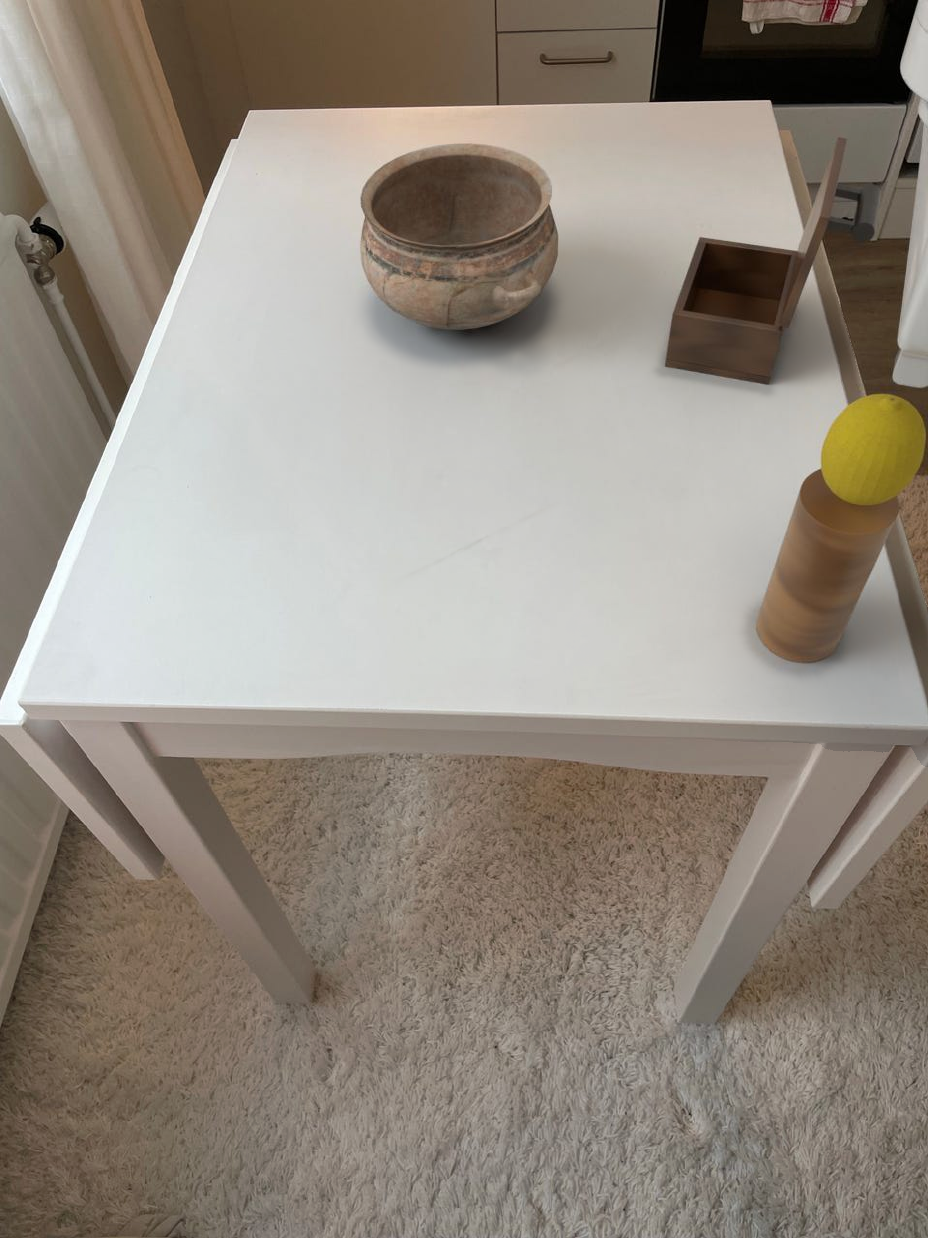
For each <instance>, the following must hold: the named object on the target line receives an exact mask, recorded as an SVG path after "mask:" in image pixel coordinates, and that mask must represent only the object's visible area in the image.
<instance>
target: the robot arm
mask: <svg viewBox="0 0 928 1238" xmlns="http://www.w3.org/2000/svg"><path fill="white" fill-rule="evenodd" d="M899 69H900V74H901V77H902V79H903V81H904V83H905V84H906V86H907V87H908V88H909V89H910V90H911V91H912V92H913V93H914V94H915V95H916V96H918V97H919V98H920V99H919V102H918V106H917V113H918V116H919V118H920V120H921V121H922V123H923V126H922V127H923V128H922V138H921V149H920V157H919V164H918V172H917V173H918V174H917V181H916V189H915V197H914V205H913V212H912V222H911V227H910V228H911V230H910V238H909V244H908V245H909V246H908V252H907V260H906V267H905V268H906V269H905V275H904V285H903V293H902V300H901V307H900V308H901V309H900V314H899V315H900V317H899V325H898V332H897V346H898V350H897V353H896V355H895V358H894V364H893V371H892V380H893V382H894V383H895V384H897V385H900V386H905V387H911V388H917V389H923V388H924V389H925V388H926V387H928V0H917V4H916V7H915V11H914V14H913V18H912V22H911V25H910V28H909V31H908V35H907V38H906V41H905V45H904V48H903V52H902V56H901V60H900V66H899Z"/></svg>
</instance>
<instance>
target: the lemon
mask: <svg viewBox="0 0 928 1238" xmlns="http://www.w3.org/2000/svg"><path fill="white" fill-rule="evenodd" d="M926 431H927V430H926V427H925V423H924V420H923V417H922V415H921V414H920V413H919V411H918V409H917V408H916V407H915V406H913V404H911V402H909V401H908V400H906V399H905V398H903V397H900V396H898V395H894V394H890V393H874V394H869V395H866V396H863V397H862V396H861V397H860V398H858V399H855V400H854V401H853V402H851V403H850V404H848V405H847V406H846V407H845V408H844V409H843V410H842V411H841V412H840V413H839V415H837V416H836V418H835V419H834V420H833V422H832V424H831V425H830V427H829V429H828V431H827V434H826V436H825V438H824V440H823V443H822V447H821V451H820V469H821V470H822V474H823V477H824V480H825V482H826V484H827V485H828V487H829V488H830V489H831V491H832V492H833V493H834V494H836V495H837V496H838V497H839V498H841V499H843V500H845V501H846V502H849V503H852V504H857V505H875V504H880V503H883V502H885V501H887V500H890V499H892V498H894V497H895V496H897V497H898V495H899V494H901V492H903V491H904V490H905V489H906V488H907V487H908V486H909V485H910V483H911V482H912V481H913V479H914V477H915V476H916V474H917V473H918V470H919V469H920V466H921V464H922V462H923V459H924V454H925V450H926V449H925V448H926V439H927V432H926Z"/></svg>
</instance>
